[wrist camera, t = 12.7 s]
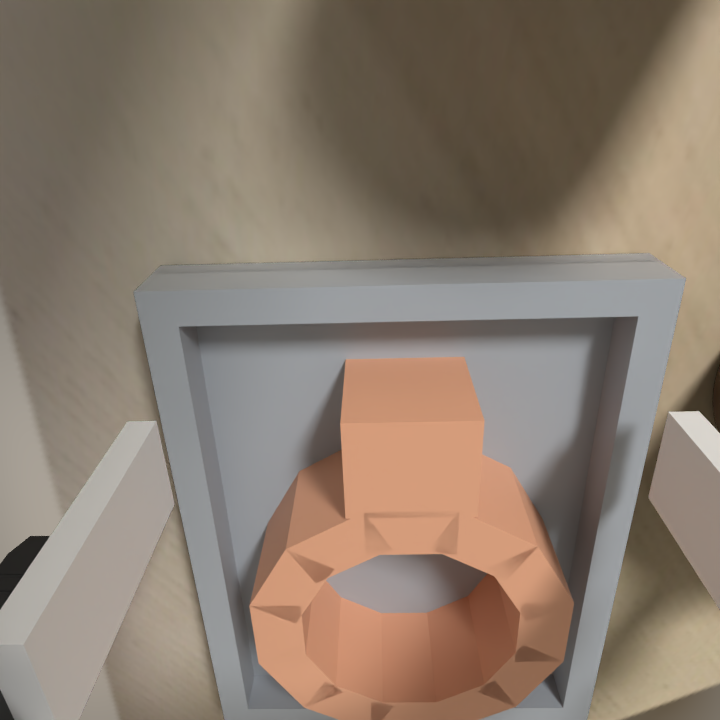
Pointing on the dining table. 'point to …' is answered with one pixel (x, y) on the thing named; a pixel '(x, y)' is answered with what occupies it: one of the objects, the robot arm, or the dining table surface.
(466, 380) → the ring
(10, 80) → the dining table surface
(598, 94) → the dining table surface
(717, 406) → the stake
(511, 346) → the tray
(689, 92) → the dining table surface
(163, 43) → the dining table surface
